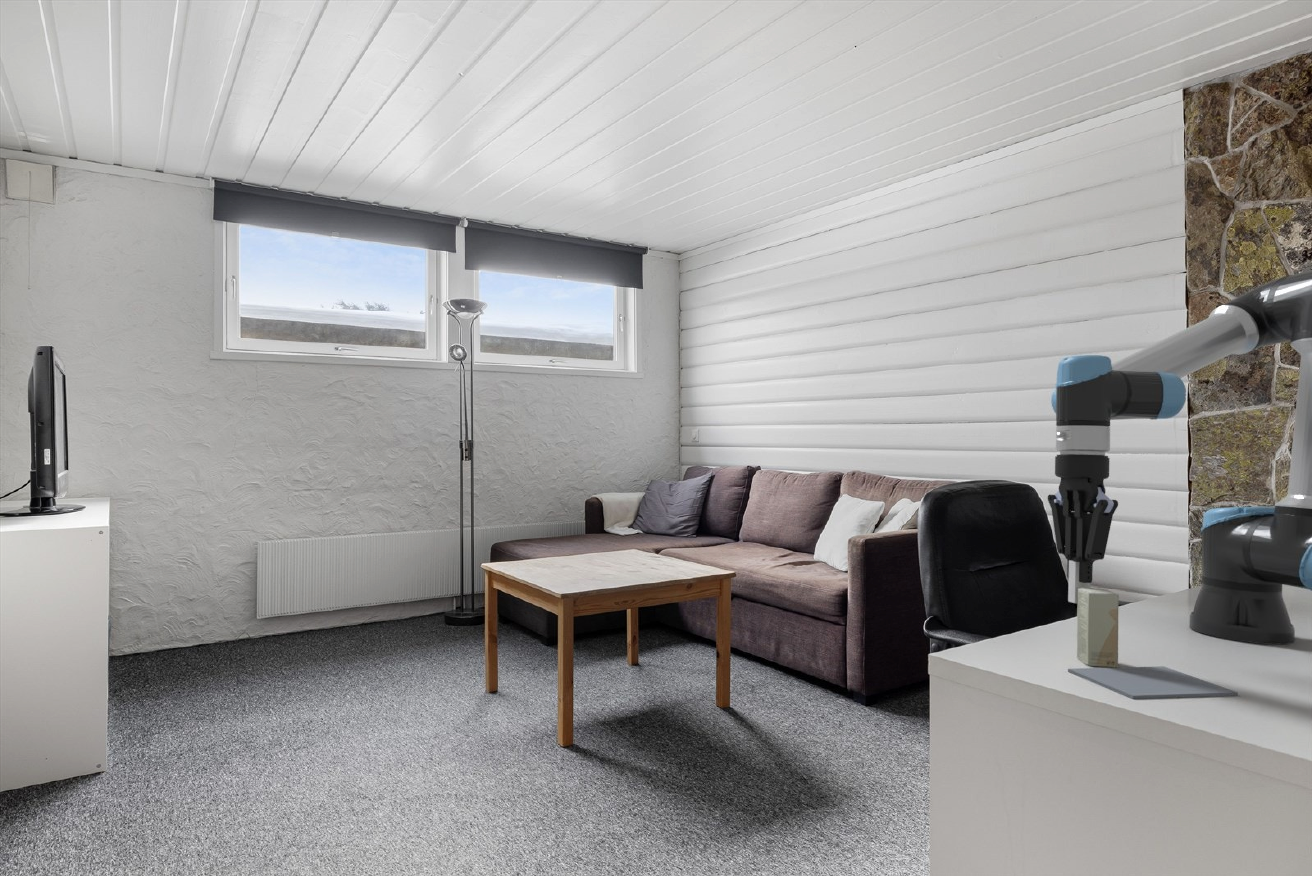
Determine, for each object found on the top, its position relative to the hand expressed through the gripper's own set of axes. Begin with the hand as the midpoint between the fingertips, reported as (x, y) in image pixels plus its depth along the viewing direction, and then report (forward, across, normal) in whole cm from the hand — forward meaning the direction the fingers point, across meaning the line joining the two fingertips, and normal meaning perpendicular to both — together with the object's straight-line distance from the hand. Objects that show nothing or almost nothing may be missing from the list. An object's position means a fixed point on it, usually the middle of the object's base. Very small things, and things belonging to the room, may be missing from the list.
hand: (1079, 602), depth 119 cm
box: (+9, +4, 0) cm, 9 cm away
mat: (+9, +14, 0) cm, 16 cm away
